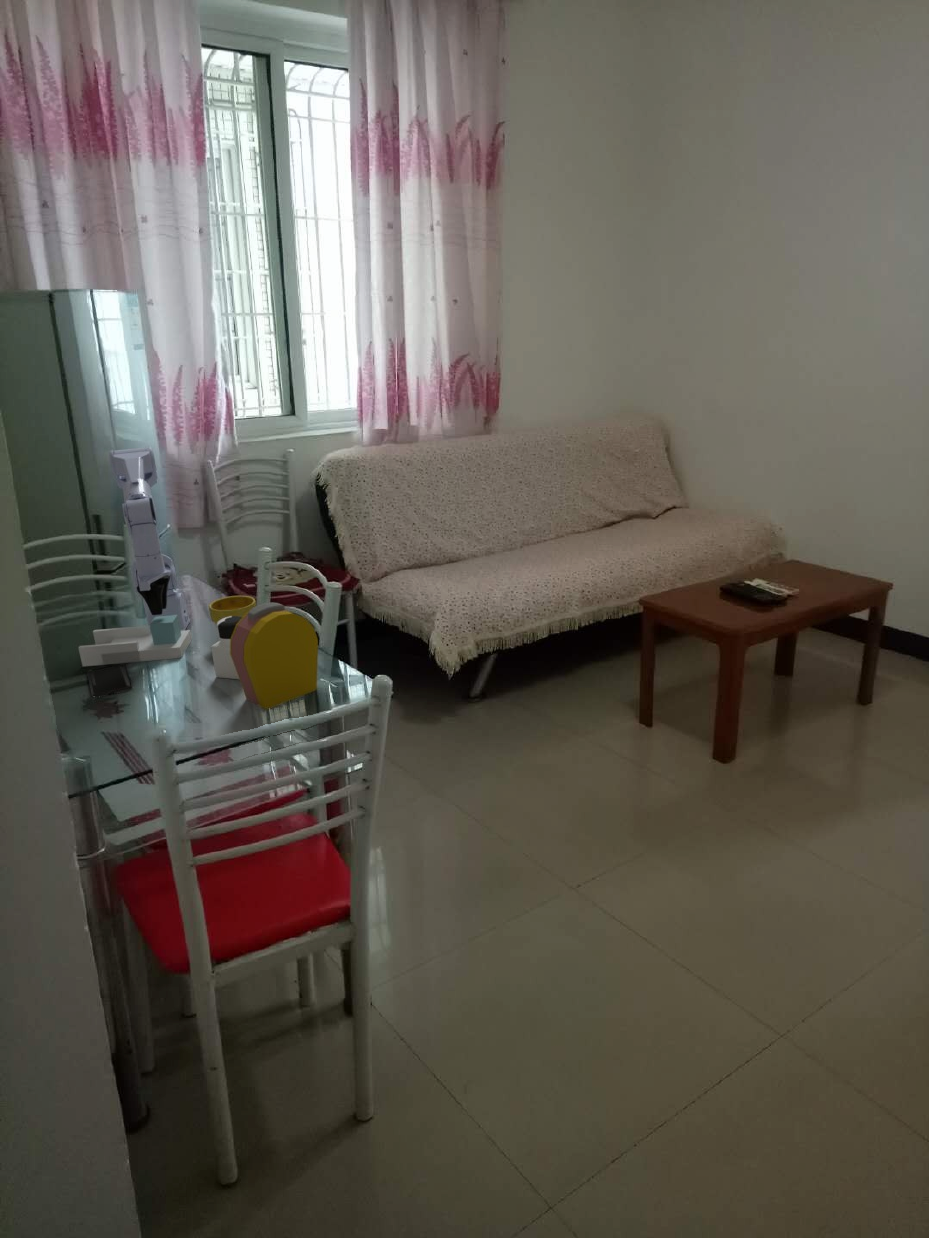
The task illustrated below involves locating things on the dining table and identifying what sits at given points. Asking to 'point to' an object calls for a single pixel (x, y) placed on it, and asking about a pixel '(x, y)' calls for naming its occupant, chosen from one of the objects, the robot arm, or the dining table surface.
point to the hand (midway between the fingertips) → (159, 611)
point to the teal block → (165, 629)
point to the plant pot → (231, 607)
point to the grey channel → (130, 646)
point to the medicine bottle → (225, 648)
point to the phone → (109, 680)
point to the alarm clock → (274, 655)
